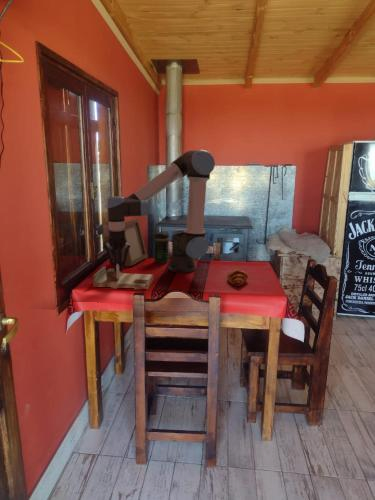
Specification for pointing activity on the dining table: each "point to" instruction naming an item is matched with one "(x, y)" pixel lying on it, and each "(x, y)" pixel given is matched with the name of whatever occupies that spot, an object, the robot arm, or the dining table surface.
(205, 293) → the dining table surface
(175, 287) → the dining table surface
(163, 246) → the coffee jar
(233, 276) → the croissant
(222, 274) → the dining table surface
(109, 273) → the walnut block
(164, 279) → the dining table surface
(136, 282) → the trap board
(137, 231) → the photo frame
